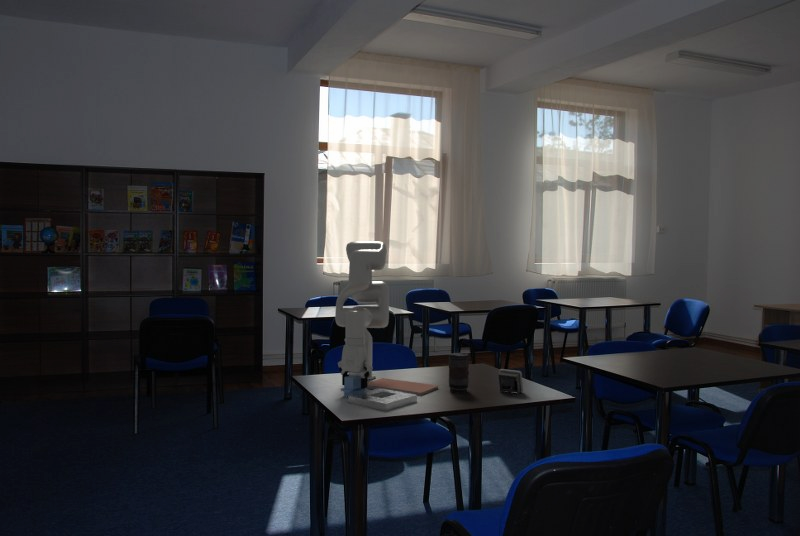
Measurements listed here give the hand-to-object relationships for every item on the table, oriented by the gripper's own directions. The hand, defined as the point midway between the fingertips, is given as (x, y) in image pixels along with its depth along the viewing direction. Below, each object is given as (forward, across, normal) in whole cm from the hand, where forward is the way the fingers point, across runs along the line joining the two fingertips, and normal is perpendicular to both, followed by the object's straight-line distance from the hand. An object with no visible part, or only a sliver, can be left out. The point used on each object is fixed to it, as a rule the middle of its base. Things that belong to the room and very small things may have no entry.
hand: (354, 386), depth 247 cm
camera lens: (+4, +26, +34) cm, 42 cm away
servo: (+4, 0, 0) cm, 4 cm away
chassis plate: (+4, +15, 0) cm, 15 cm away
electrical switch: (+4, +43, +46) cm, 63 cm away
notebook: (+4, +5, +22) cm, 23 cm away
